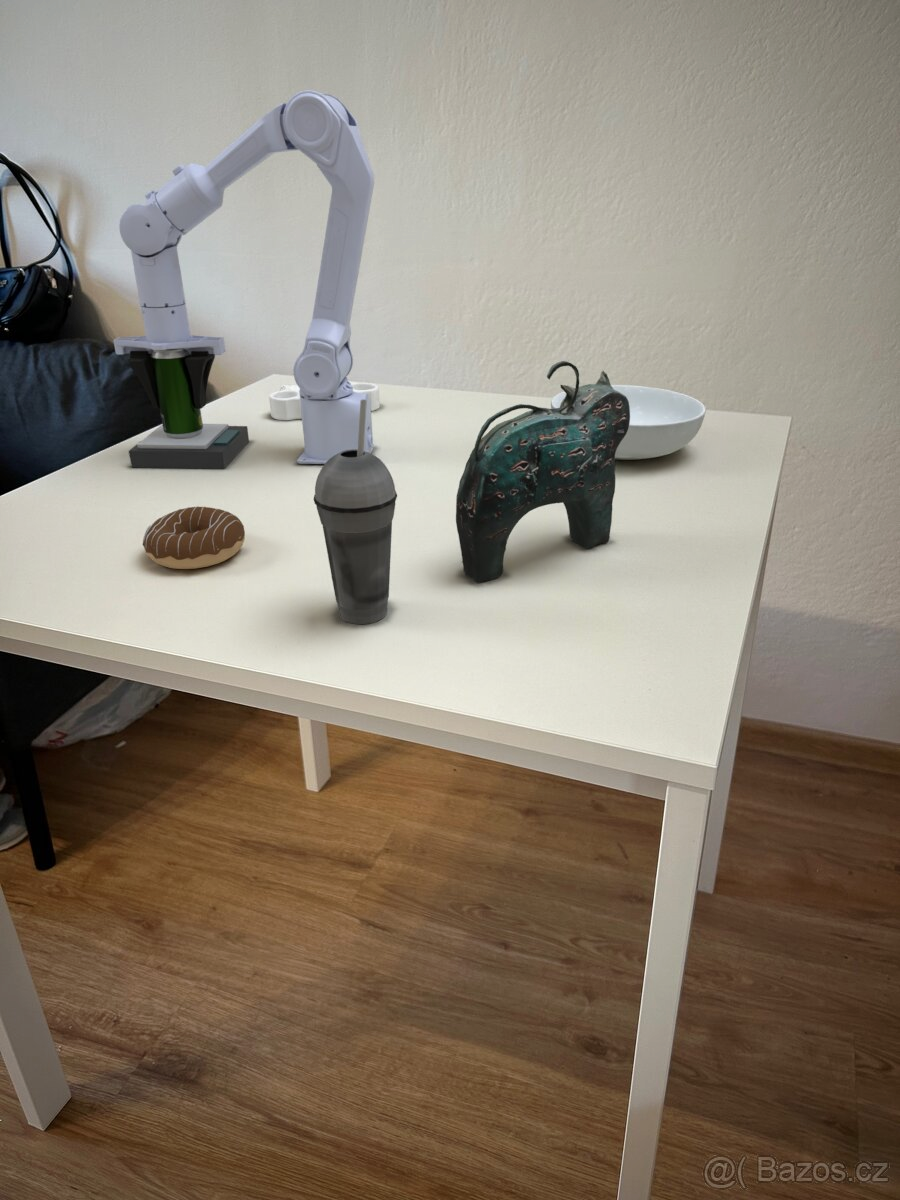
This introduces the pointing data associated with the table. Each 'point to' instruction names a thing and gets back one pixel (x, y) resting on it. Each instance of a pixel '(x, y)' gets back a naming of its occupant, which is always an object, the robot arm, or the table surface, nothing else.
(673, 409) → the serving bowl
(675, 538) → the table surface
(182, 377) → the beer can
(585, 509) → the ceramic cat
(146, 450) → the scale
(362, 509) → the beverage cup
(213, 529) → the donut
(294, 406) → the knuckle duster
